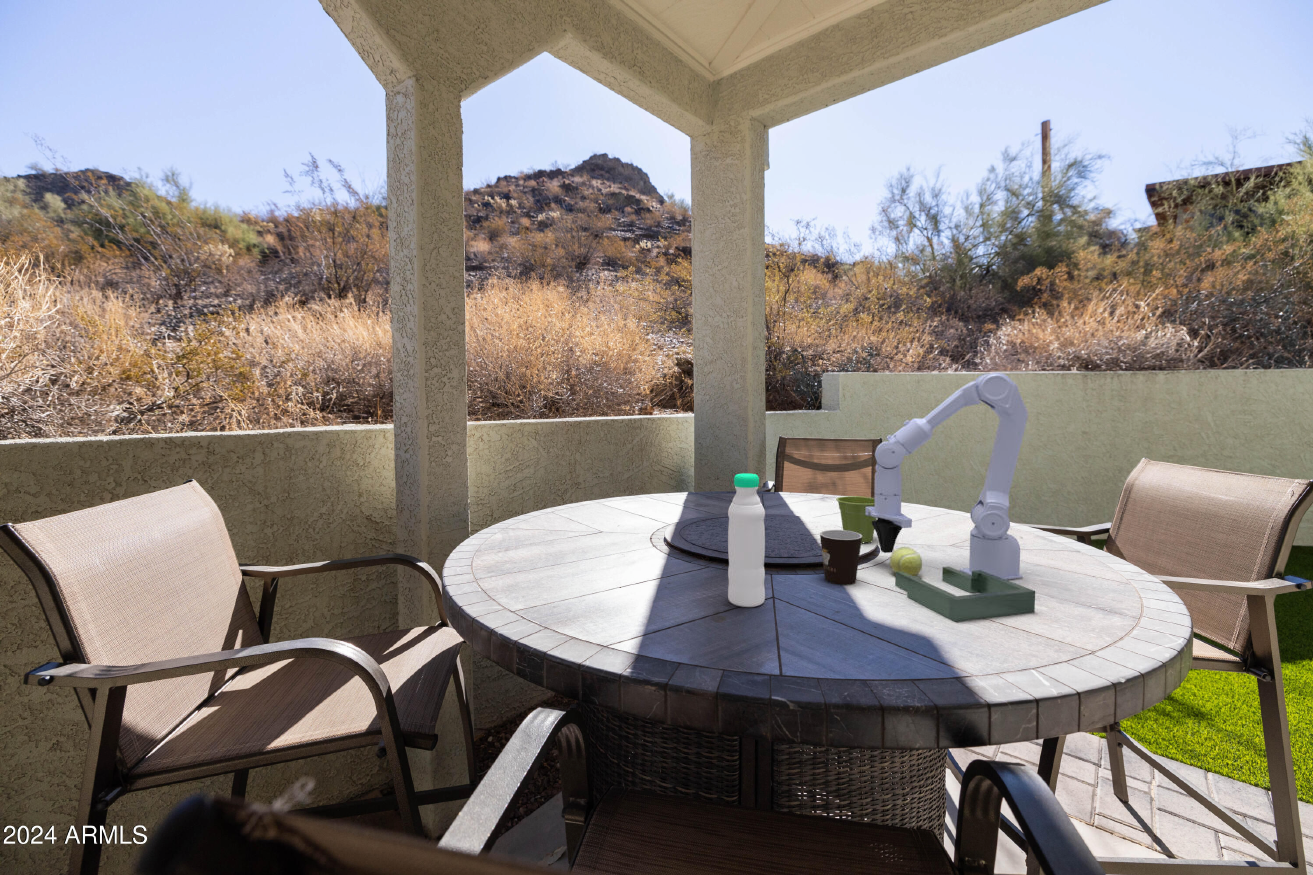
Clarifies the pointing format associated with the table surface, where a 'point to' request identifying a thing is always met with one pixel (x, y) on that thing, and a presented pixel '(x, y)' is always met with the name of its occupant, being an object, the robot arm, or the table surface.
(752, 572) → the water bottle
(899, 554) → the tennis ball
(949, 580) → the chute bay
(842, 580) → the coffee mug
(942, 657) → the table surface
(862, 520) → the plant pot
